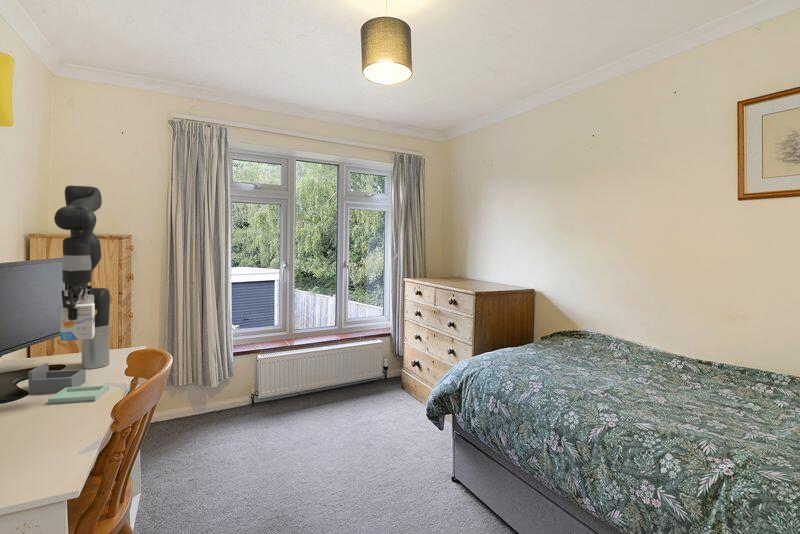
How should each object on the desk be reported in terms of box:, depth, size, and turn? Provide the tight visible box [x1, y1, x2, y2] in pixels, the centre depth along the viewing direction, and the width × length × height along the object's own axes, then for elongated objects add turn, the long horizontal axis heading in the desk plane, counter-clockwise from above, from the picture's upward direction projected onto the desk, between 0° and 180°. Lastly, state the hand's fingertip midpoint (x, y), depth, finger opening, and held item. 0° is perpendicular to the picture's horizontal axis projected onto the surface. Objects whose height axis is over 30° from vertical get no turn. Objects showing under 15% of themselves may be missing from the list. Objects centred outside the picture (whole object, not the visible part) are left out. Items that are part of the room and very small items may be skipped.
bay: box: [27, 362, 87, 395], centre depth 136 cm, size 9×12×8 cm
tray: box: [47, 384, 110, 405], centre depth 130 cm, size 10×13×2 cm
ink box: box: [59, 295, 96, 342], centre depth 128 cm, size 8×5×15 cm, turn 122°
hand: (78, 317), depth 128 cm, fingers closed on ink box, 5 cm apart
